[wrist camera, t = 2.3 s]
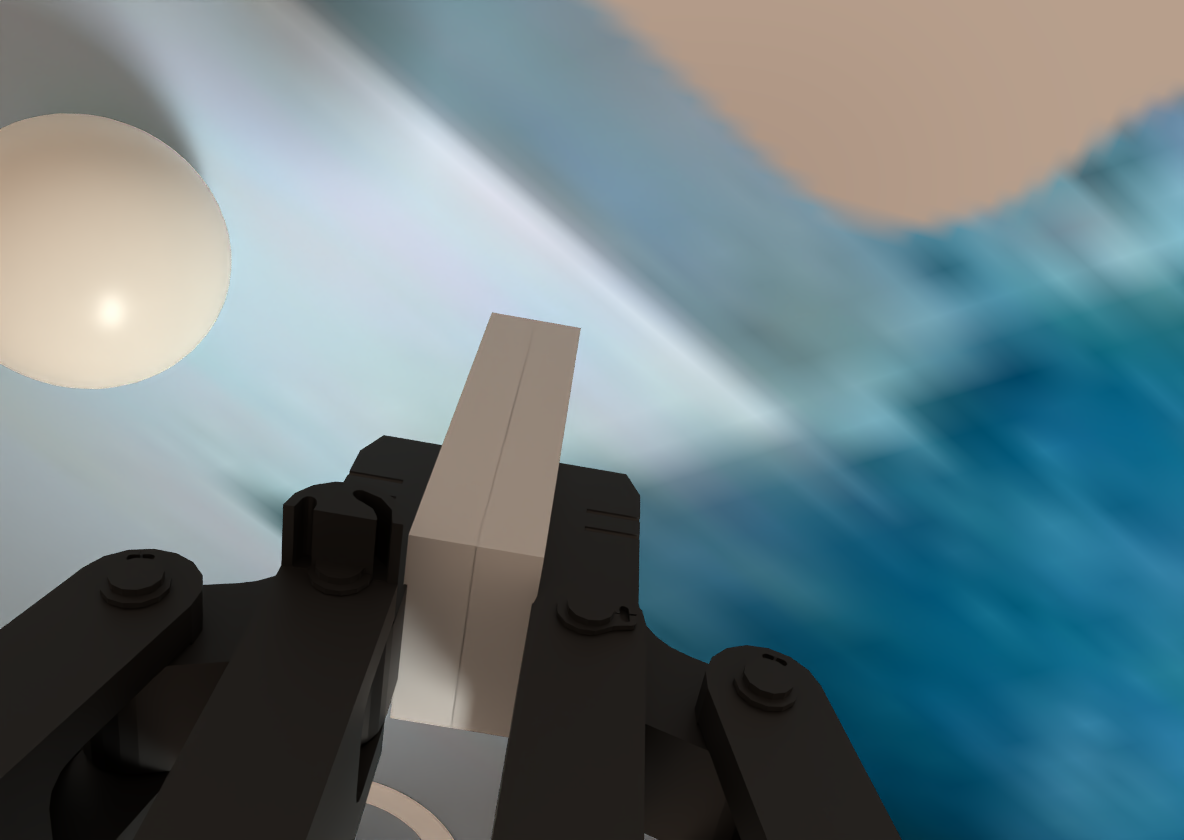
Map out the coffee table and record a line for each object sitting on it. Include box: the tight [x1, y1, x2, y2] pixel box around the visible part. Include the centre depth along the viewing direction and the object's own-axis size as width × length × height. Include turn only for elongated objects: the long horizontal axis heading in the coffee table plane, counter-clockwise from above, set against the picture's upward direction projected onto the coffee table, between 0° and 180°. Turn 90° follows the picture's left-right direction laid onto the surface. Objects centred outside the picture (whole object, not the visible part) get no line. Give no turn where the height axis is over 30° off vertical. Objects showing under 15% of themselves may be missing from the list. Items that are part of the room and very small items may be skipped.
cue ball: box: [0, 113, 231, 389], centre depth 21 cm, size 6×6×6 cm
